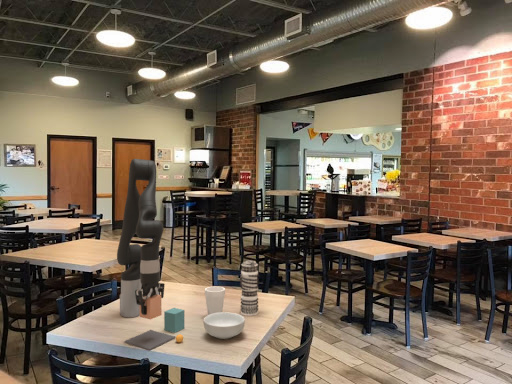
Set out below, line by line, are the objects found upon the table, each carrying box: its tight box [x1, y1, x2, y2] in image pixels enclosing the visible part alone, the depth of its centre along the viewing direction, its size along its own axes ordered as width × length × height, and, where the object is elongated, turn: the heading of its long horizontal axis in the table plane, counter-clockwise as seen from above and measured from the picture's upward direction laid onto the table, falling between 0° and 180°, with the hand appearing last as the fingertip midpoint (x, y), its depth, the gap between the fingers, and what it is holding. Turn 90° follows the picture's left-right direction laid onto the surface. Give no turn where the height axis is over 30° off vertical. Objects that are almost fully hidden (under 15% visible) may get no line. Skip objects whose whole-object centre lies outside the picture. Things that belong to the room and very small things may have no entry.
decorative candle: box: [239, 259, 260, 317], centre depth 197 cm, size 9×9×25 cm
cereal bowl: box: [203, 311, 246, 340], centre depth 169 cm, size 17×17×7 cm
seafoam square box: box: [163, 307, 185, 334], centre depth 176 cm, size 6×6×8 cm
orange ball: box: [175, 333, 184, 343], centre depth 162 cm, size 3×3×3 cm
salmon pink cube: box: [139, 294, 163, 321], centre depth 163 cm, size 6×6×8 cm
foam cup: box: [204, 285, 226, 316], centre depth 192 cm, size 10×9×13 cm
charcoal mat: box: [123, 329, 176, 351], centre depth 164 cm, size 14×14×1 cm
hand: (150, 312), depth 164 cm, fingers closed on salmon pink cube, 6 cm apart
